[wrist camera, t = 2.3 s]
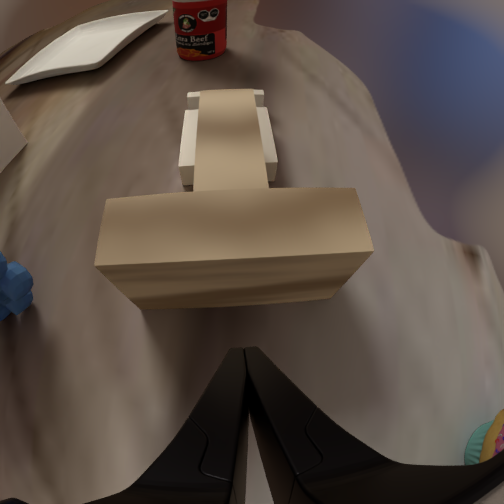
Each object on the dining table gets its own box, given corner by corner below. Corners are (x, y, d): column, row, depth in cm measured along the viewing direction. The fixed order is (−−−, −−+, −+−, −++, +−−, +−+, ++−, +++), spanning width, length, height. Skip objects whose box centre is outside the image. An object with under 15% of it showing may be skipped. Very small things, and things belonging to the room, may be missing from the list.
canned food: (168, 59, 36) (161, -1, 27) (194, 41, 40) (191, -13, 30) (211, 64, 35) (209, -2, 26) (234, 46, 39) (236, -11, 29)
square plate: (171, 22, 47) (170, 7, 43) (102, 80, 35) (97, 61, 31) (79, 34, 48) (76, 23, 44) (8, 96, 36) (2, 82, 32)
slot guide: (274, 181, 26) (278, 162, 23) (182, 185, 25) (178, 166, 23) (261, 107, 31) (263, 89, 28) (189, 109, 30) (187, 92, 28)
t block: (329, 298, 21) (374, 251, 14) (140, 309, 20) (94, 265, 13) (300, 158, 27) (316, 91, 20) (155, 164, 26) (136, 97, 19)
